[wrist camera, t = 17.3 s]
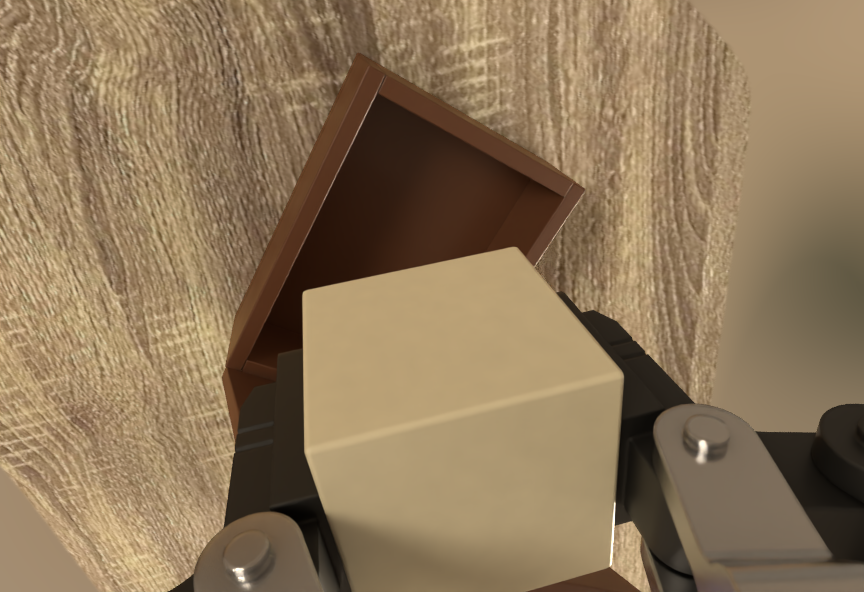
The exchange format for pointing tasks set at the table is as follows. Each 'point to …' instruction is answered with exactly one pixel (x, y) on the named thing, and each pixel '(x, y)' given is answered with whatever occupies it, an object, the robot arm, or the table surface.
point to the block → (460, 428)
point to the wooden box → (393, 205)
